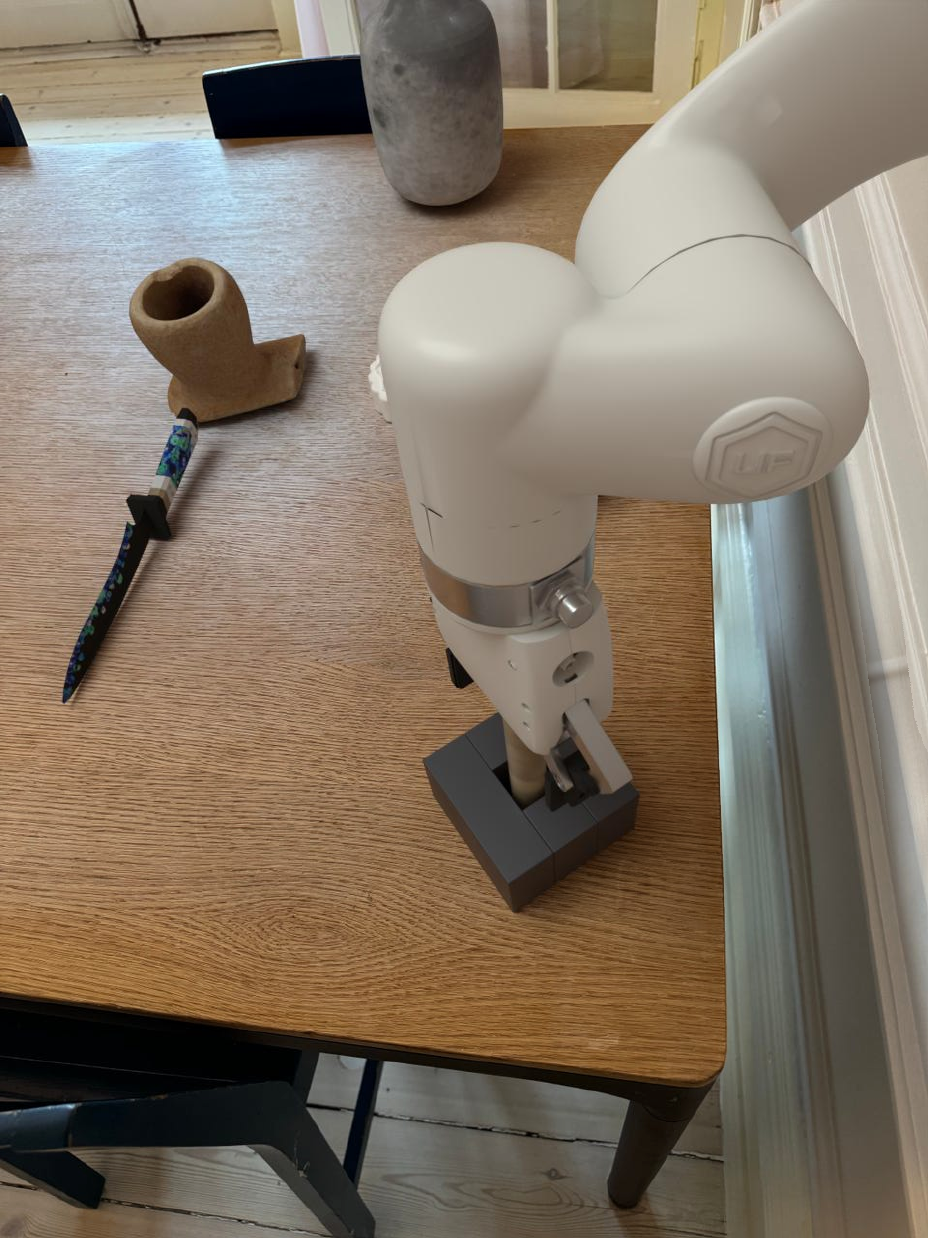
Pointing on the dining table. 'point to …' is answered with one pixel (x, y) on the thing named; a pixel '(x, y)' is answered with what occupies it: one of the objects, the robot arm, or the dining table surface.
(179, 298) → the brown hollow clay piece
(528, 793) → the stick
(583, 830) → the holder
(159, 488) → the knife
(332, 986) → the dining table surface
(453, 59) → the vase
